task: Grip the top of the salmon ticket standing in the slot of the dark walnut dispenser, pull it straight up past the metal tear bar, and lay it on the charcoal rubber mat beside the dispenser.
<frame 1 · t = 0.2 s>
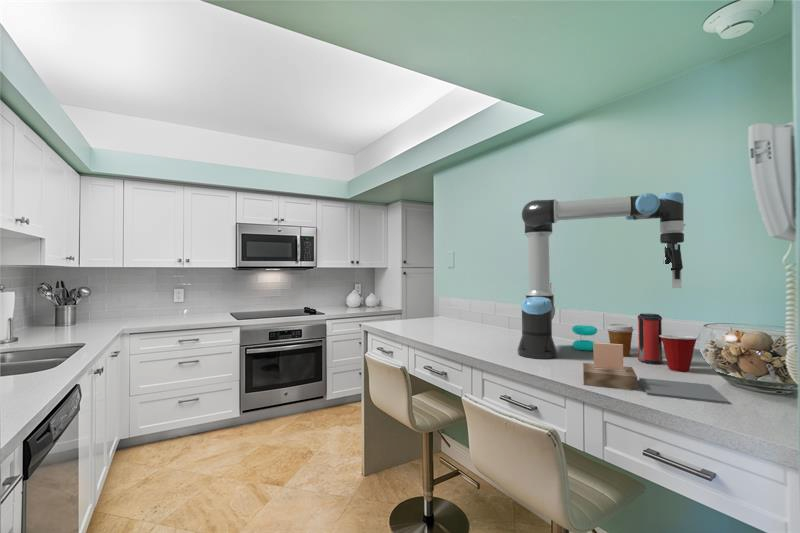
hand: (672, 287, 147), 28 cm above the worktop, tool pointing down, fingers open, 13 cm apart
speaker: (650, 362, 143), on the worktop
mat: (679, 390, 109), on the worktop
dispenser: (608, 382, 118), on the worktop
turquoise double disc piece: (584, 349, 167), on the worktop
plastic cup: (678, 370, 132), on the worktop
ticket: (608, 363, 118), in the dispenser
disposable coffee cup: (620, 355, 155), on the worktop
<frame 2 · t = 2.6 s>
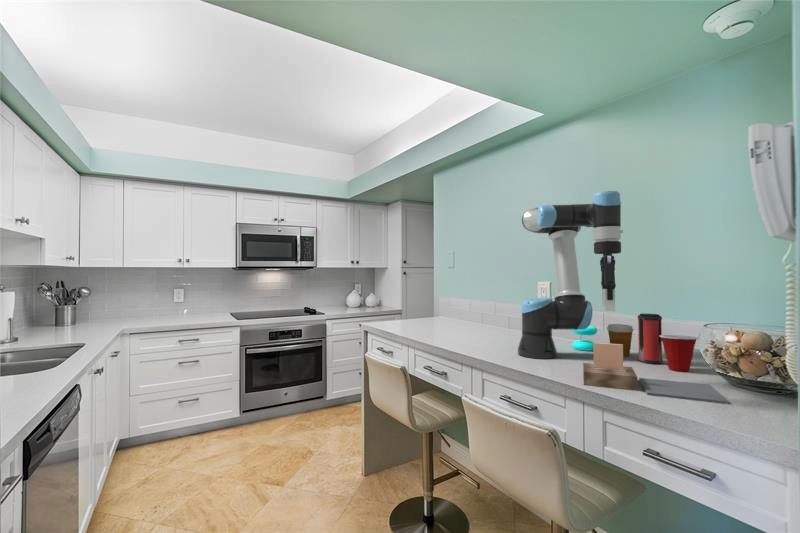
hand: (608, 309, 118), 23 cm above the worktop, tool pointing down, fingers open, 13 cm apart
nothing on the worktop moved.
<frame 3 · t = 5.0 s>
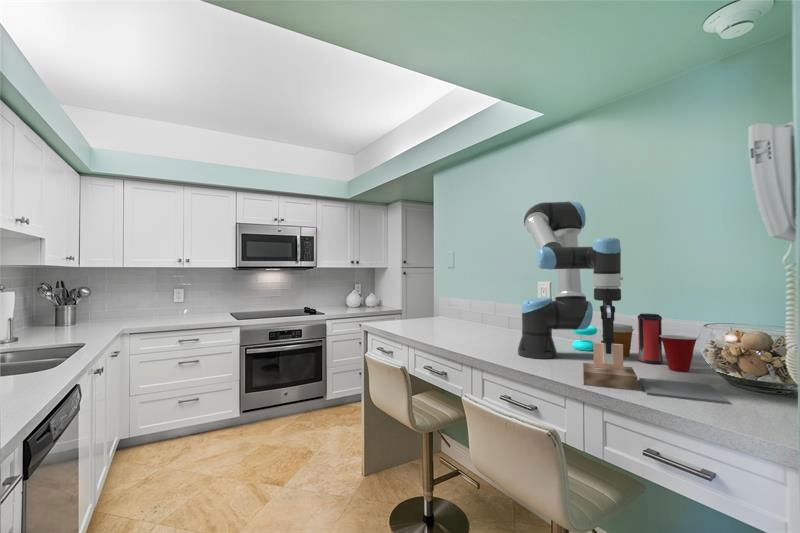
hand: (608, 363, 118), 6 cm above the worktop, tool pointing down, fingers closed on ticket
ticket: (608, 363, 118), in the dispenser, touching gripper
everything else where it was.
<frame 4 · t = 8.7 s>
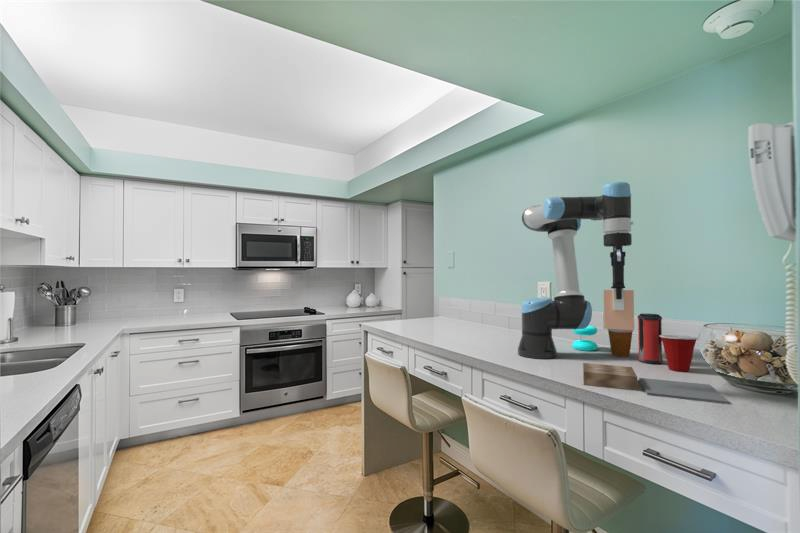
hand: (618, 309, 116), 23 cm above the worktop, tool pointing down, fingers closed on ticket
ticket: (618, 309, 116), point 23 cm above the worktop, touching gripper
everything else where it was.
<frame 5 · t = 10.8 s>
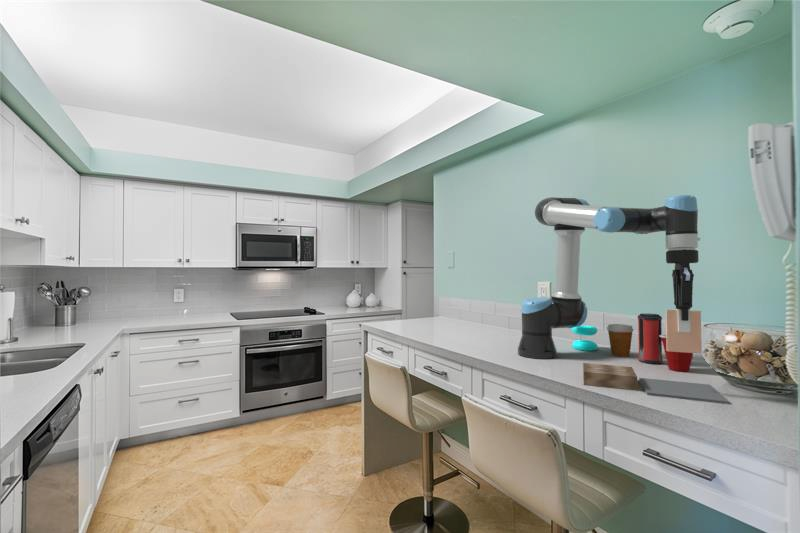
hand: (683, 331, 109), 17 cm above the worktop, tool pointing down, fingers closed on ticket
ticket: (683, 331, 109), point 17 cm above the worktop, touching gripper
everything else where it was.
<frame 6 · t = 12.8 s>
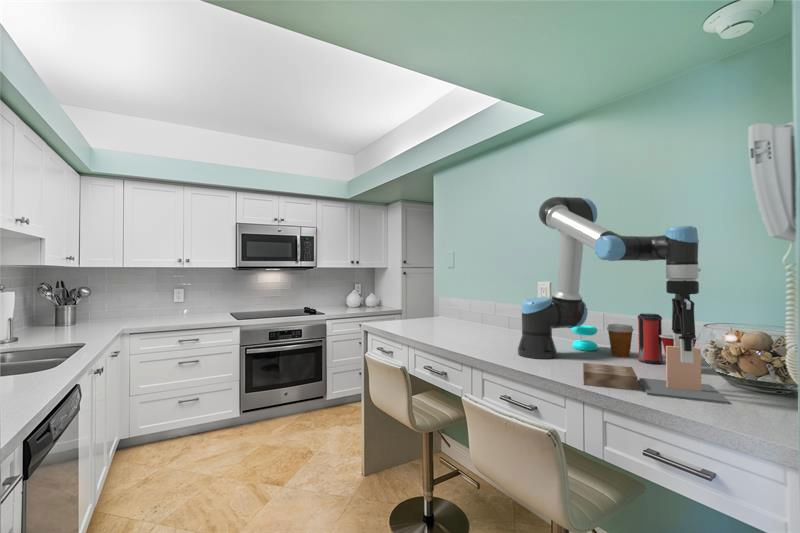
hand: (683, 359, 109), 9 cm above the worktop, tool pointing down, fingers open, 8 cm apart
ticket: (683, 368, 109), on the mat, point 7 cm above the worktop
everything else where it was.
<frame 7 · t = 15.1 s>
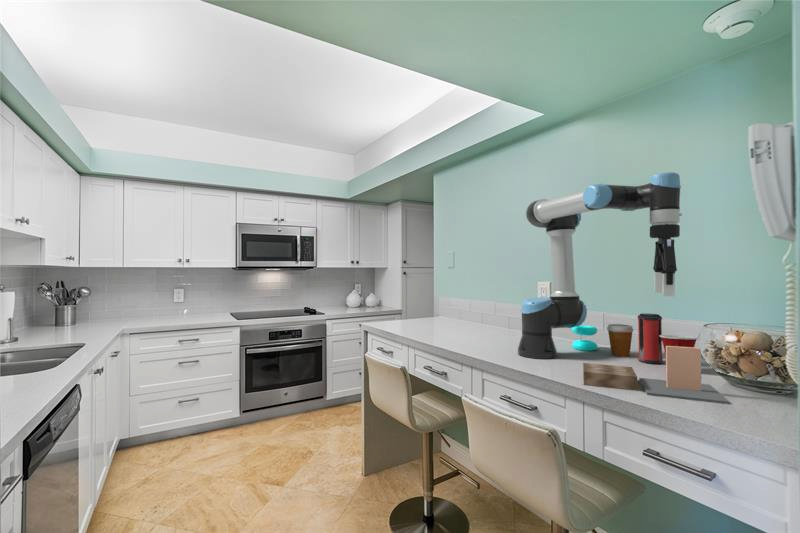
hand: (663, 294, 115), 27 cm above the worktop, tool pointing down, fingers open, 13 cm apart
nothing on the worktop moved.
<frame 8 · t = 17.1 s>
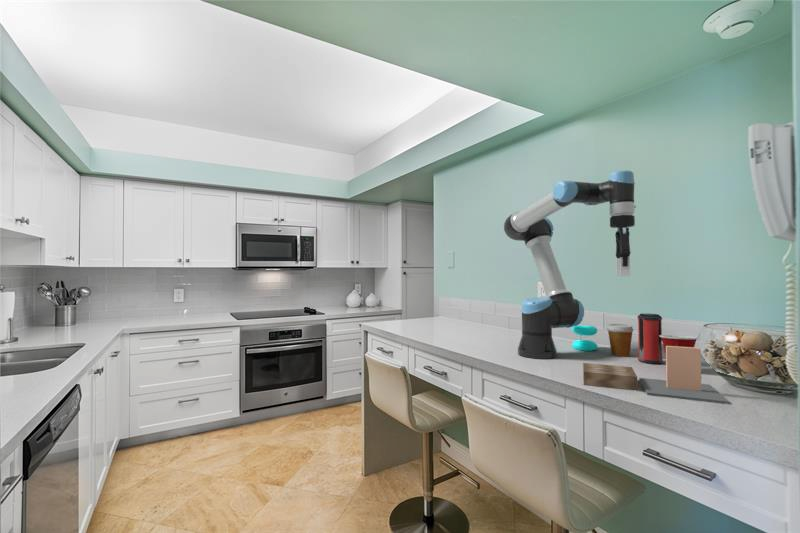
hand: (622, 276, 133), 33 cm above the worktop, tool pointing down, fingers open, 13 cm apart
nothing on the worktop moved.
at the end: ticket inside the target area on the mat (1.0 cm from its centre), point 6.6 cm above the mat's base; the gripper is holding nothing; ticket moved 19.0 cm from its start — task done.
